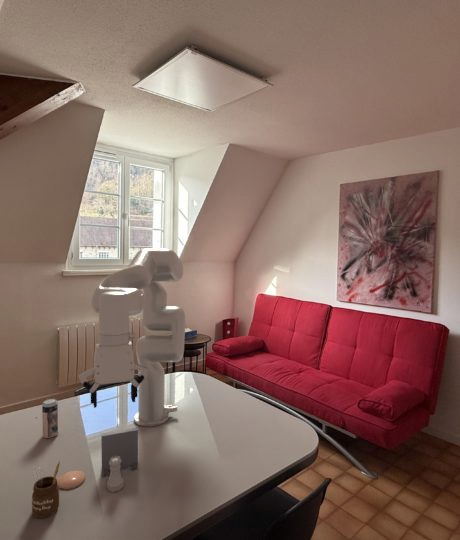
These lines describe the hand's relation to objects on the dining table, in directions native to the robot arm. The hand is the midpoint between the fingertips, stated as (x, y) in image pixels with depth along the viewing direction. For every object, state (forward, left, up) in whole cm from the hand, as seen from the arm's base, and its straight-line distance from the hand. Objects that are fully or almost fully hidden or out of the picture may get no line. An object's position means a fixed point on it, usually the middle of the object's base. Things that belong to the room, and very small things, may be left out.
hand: (114, 402), depth 96 cm
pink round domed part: (+11, -7, -23) cm, 27 cm away
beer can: (+18, -35, -24) cm, 46 cm away
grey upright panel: (-2, -8, -23) cm, 25 cm away
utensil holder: (+16, +3, -24) cm, 29 cm away
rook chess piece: (0, 0, -24) cm, 24 cm away
